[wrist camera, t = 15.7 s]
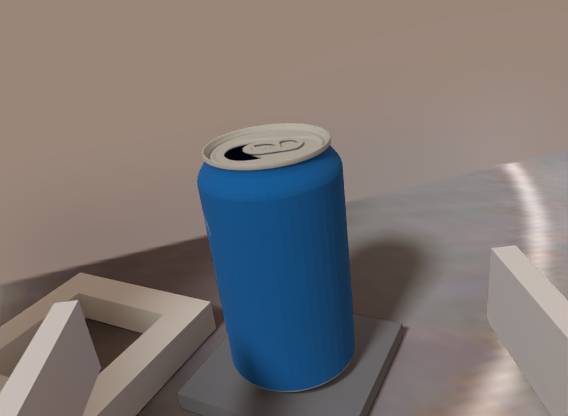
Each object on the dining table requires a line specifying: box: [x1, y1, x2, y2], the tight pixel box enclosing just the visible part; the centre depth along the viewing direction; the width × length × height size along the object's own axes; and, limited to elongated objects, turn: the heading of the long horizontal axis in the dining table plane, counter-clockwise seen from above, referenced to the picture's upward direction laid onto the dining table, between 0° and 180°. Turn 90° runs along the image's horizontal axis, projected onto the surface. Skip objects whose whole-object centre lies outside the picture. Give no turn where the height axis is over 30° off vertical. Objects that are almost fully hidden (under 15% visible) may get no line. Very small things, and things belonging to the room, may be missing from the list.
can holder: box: [0, 272, 216, 416], centre depth 30 cm, size 11×11×2 cm
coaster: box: [177, 313, 402, 416], centre depth 28 cm, size 9×9×1 cm
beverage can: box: [197, 123, 355, 392], centre depth 25 cm, size 6×6×12 cm
